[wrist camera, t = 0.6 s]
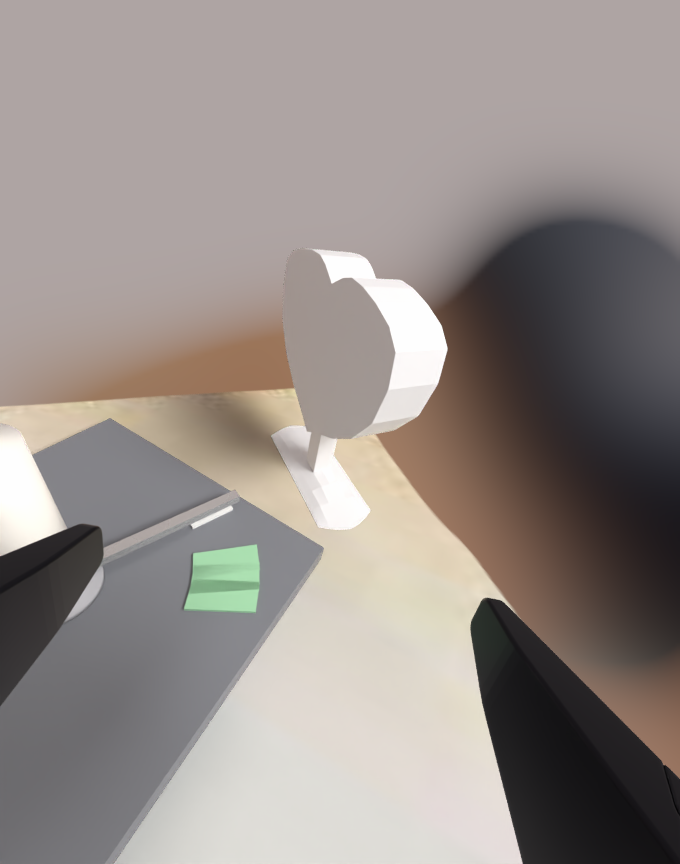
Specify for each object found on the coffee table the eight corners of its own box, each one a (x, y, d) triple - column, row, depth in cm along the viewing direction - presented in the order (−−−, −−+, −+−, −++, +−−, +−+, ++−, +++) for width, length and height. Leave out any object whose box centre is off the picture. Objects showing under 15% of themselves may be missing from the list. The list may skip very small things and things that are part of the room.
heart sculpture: (383, 529, 29) (475, 319, 18) (329, 548, 27) (397, 320, 16) (308, 416, 39) (338, 237, 28) (264, 423, 37) (277, 230, 26)
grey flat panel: (-93, 1165, 10) (-138, 1206, 8) (-360, 671, 15) (-409, 655, 14) (320, 559, 26) (324, 544, 25) (113, 431, 32) (109, 414, 31)
